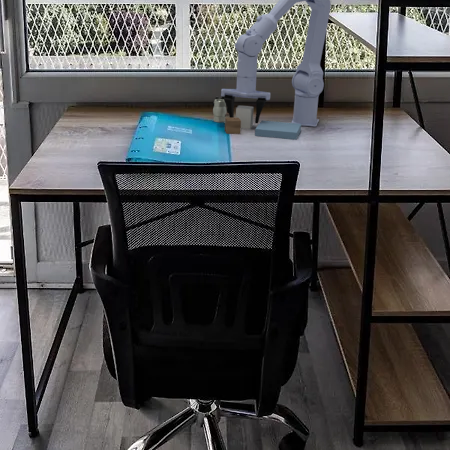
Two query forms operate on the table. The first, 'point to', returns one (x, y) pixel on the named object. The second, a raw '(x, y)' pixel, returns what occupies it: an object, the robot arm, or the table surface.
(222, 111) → the valve
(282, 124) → the base board
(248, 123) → the white block
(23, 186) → the table surface
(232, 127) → the walnut block
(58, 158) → the table surface
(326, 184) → the table surface
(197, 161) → the table surface
